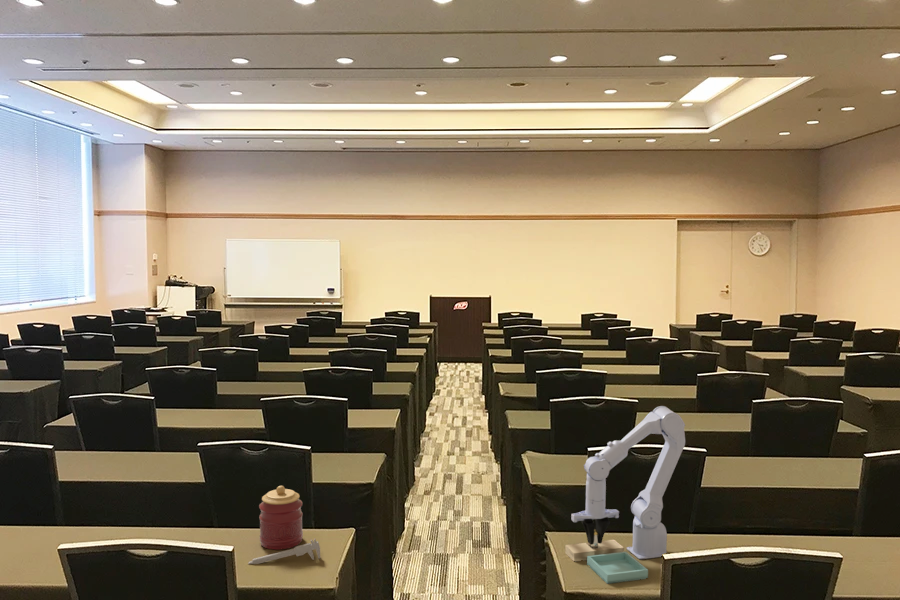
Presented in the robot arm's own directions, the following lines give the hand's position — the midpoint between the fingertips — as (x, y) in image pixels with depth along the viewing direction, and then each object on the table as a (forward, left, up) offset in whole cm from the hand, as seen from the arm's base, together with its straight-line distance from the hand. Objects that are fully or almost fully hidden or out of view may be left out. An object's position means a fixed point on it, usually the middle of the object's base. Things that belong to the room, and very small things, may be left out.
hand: (594, 542), depth 222 cm
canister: (+89, -33, -4) cm, 95 cm away
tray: (-1, +12, -4) cm, 13 cm away
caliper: (+89, -19, -4) cm, 91 cm away
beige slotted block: (0, 0, -4) cm, 4 cm away
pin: (0, 0, -4) cm, 4 cm away
